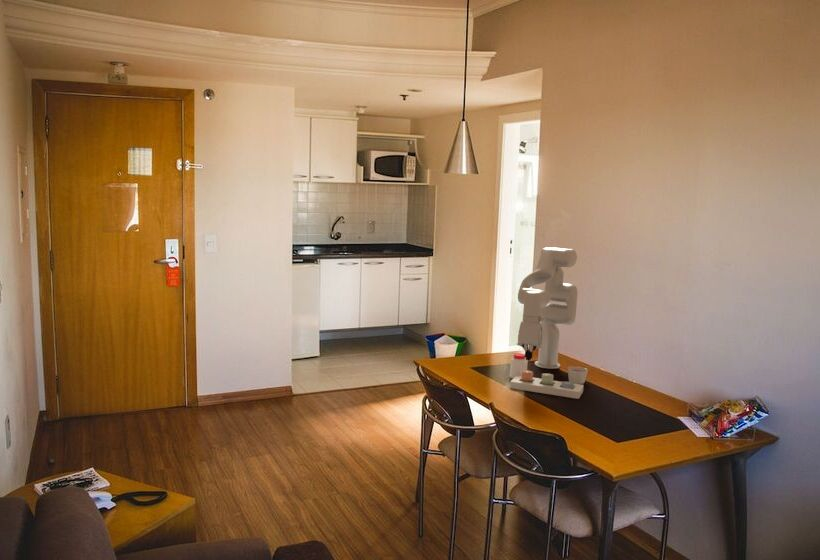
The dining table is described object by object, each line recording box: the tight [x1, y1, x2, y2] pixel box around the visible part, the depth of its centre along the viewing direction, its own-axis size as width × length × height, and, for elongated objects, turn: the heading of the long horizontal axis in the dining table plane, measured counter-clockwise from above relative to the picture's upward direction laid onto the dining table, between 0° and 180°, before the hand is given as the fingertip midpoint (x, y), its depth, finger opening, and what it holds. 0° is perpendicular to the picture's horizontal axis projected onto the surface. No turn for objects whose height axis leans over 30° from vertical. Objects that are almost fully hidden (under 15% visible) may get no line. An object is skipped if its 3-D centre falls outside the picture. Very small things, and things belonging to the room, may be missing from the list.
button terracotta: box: [521, 369, 534, 382], centre depth 304 cm, size 5×5×4 cm
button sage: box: [541, 373, 554, 385], centre depth 300 cm, size 5×5×4 cm
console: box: [509, 375, 585, 400], centre depth 301 cm, size 12×30×3 cm, turn 68°
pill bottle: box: [509, 352, 529, 380], centre depth 318 cm, size 8×8×11 cm
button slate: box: [561, 381, 574, 389], centre depth 297 cm, size 5×5×4 cm
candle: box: [567, 365, 589, 385], centre depth 315 cm, size 9×9×6 cm
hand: (528, 359), depth 302 cm, fingers closed
